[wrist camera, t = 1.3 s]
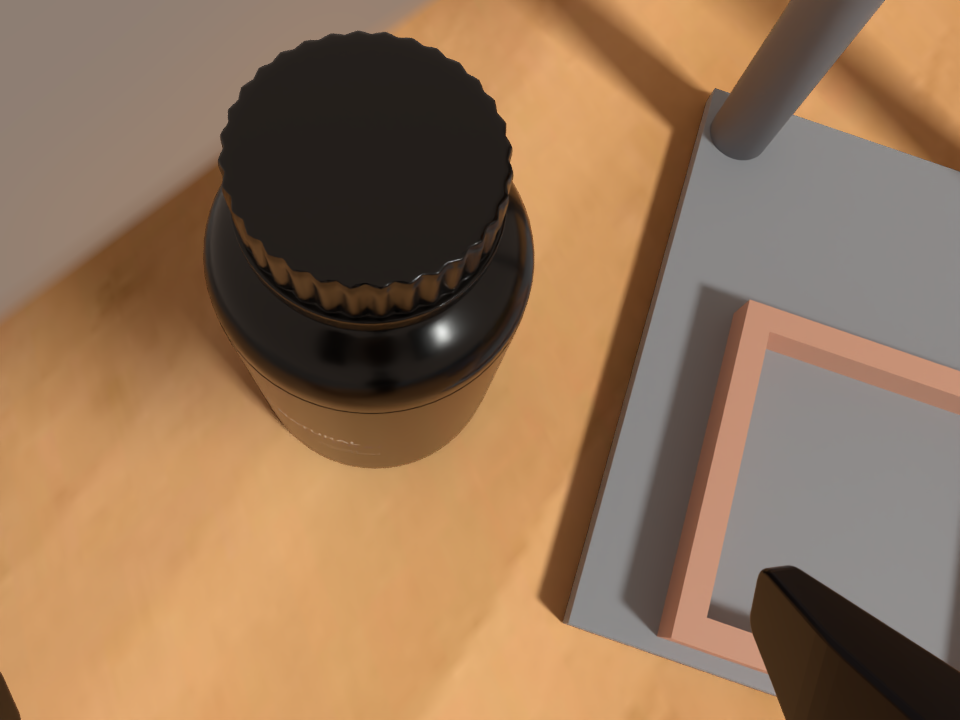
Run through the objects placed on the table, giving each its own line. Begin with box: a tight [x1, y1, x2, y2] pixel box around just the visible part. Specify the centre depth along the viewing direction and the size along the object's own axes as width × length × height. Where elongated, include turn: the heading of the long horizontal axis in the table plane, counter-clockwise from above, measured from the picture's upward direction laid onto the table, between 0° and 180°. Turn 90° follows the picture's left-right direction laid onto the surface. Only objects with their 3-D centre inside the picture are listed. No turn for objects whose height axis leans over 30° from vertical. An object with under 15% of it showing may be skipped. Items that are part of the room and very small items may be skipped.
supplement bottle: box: [203, 31, 534, 468], centre depth 18 cm, size 7×7×12 cm
